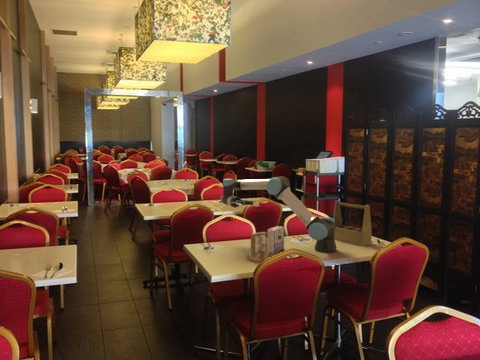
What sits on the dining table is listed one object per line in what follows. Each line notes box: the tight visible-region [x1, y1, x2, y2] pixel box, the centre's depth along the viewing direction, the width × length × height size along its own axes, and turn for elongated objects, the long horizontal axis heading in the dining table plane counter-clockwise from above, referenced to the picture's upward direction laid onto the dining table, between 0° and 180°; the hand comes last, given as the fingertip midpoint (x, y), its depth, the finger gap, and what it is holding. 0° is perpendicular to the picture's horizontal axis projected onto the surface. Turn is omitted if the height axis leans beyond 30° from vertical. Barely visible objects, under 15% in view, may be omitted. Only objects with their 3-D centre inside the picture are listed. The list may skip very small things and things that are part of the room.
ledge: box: [246, 251, 273, 263], centre depth 288 cm, size 14×8×5 cm, turn 120°
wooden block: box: [250, 231, 267, 256], centre depth 288 cm, size 10×4×14 cm, turn 120°
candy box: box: [266, 225, 285, 255], centre depth 308 cm, size 14×6×16 cm, turn 145°
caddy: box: [332, 200, 373, 247], centre depth 337 cm, size 29×11×30 cm, turn 37°
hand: (250, 205), depth 305 cm, fingers open, 13 cm apart
